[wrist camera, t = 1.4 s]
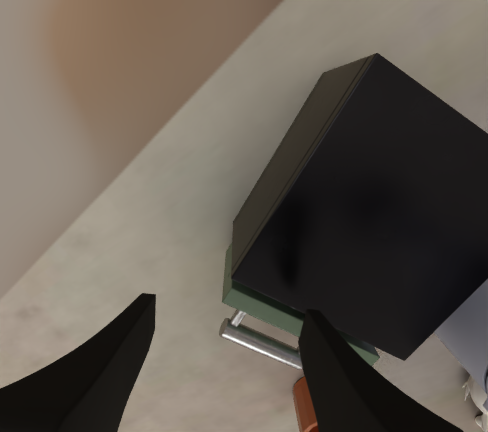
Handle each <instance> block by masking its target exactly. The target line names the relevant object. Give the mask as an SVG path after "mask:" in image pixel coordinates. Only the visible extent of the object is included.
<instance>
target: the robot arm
mask: <svg viewBox="0 0 488 432" xmlns="http://www.w3.org/2000/svg"><path fill="white" fill-rule="evenodd" d="M155 304H156V294H146V293H142V294H141V295H140V296H139V297H138V298H136V299H135V300H134V301H133V302H132V303H131V304H130V305H129V306H128V307H127V308H126V309H125V310H124V311H123V312H122V313H121V314H119V315H118V316H117V317H116V318H115V319H114V320H113V321H112V322H110V323H109V324H108V325H107V326H106V327H104V328H103V329H102V330H101V331H99V332H98V333H97V334H96V335H94V336H93V337H92V338H90V339H89V340H88V341H86V342H85V343H83V344H82V345H80V346H79V347H78V348H76V349H75V350H73V351H72V352H70V353H68V354H67V355H65V356H63V357H62V358H60V359H58V360H57V361H55V362H53V363H51V364H50V365H48V366H46V367H44V368H42V369H41V370H39V371H37V372H35V373H33V374H31V375H29V376H27V377H25V378H23V379H21V380H19V381H16V382H14V383H12V384H10V385H8V386H5V387H3V388H1V389H0V432H117V431H118V427H119V424H120V421H121V418H122V415H123V412H124V409H125V406H126V404H127V401H128V398H129V396H130V393H131V391H132V389H133V386H134V384H135V382H136V379H137V377H138V375H139V372H140V370H141V368H142V365H143V363H144V360H145V358H146V356H147V353H148V351H149V348H150V344H151V341H152V338H153V334H154V331H155ZM434 333H435V334H436V335H437V337H438V338H439V339H440V340H441V341H442V342H443V344H444V345H445V346H446V347H447V348H448V349H449V351H450V352H451V353H452V354H453V355H454V356H455V358H456V359H457V360H458V361H459V362H460V363H461V365H462V366H463V367H464V368H465V369H466V370H467V372H468V373H469V374H470V375H471V376H472V377H473V379H474V380H475V381H476V382H477V383H478V384H479V386H480V387H481V388H482V389H483V390H484V391H485V393H486V394H487V399H486V401H485V402H484V404H483V407H484V408H485V409H486V410H487V412H488V279H487V280H486V281H485V282H484V283H483V284H482V285H481V286H480V287H479V288H478V289H477V290H476V291H475V292H474V293H473V294H472V295H471V296H470V297H469V298H468V299H467V300H466V301H465V302H464V303H463V304H462V305H461V306H460V307H459V308H458V309H457V310H456V311H455V312H454V313H453V314H452V315H451V316H450V317H449V318H448V319H447V320H446V321H444V322H443V323H442V324H441V325H440V326H439V327H438V328H437V329H436V330H435V331H434ZM298 343H299V351H300V358H301V363H302V367H303V371H304V375H305V379H306V382H307V386H308V390H309V393H310V397H311V400H312V404H313V408H314V411H315V416H316V420H317V425H318V430H319V432H463V430H461V429H460V428H458V427H456V426H455V425H453V424H451V423H449V422H448V421H446V420H444V419H443V418H441V417H439V416H438V415H436V414H434V413H433V412H431V411H430V410H428V409H427V408H425V407H424V406H422V405H421V404H419V403H418V402H416V401H415V400H413V399H412V398H410V397H409V396H408V395H406V394H405V393H403V392H402V391H401V390H400V389H398V388H397V387H396V386H394V385H393V384H392V383H390V382H389V381H388V380H387V379H385V378H384V377H383V376H382V375H381V374H380V373H378V372H377V371H376V370H375V369H374V368H373V367H372V366H370V365H369V364H368V363H367V362H366V361H365V360H364V359H363V358H362V357H361V356H360V355H359V354H358V353H357V352H356V351H355V350H354V349H353V348H352V347H351V346H350V345H349V344H348V343H347V341H346V340H345V339H344V338H343V337H342V336H341V335H340V334H339V333H338V331H337V330H336V329H335V328H334V327H333V326H332V324H331V323H330V322H329V321H328V320H327V319H326V317H325V316H324V315H323V314H322V313H321V312H320V311H319V310H314V309H306V313H305V317H304V321H303V325H302V329H301V333H300V337H299V341H298Z"/></svg>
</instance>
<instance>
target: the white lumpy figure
mask: <svg viewBox="0 0 488 432" xmlns="http://www.w3.org/2000/svg"><path fill="white" fill-rule="evenodd" d="M466 384H467V386H466V392H465V399H466V396H468V393H469V392H470V394H471V397H472V399H473V401H474V403H475V404H476V406H477V407H478V408H479V409H480V410H481V411H482V412H483V414H482V416H477V417H476V418H475V421H476V423H477V424H478V425H479V426H480V427H482V429H483V431H484V432H488V412H487V410H486V409H485V408H484V407H483V404H484V402H485V401H486V399H487V394H486V393H485V391H484V390H483V389H482V388H481V387H480V386H479V384H478V383H477V382H476V381H475V380H474V379H473V377H472V376H471V375H470V377H469V380H468V381H467V382H466V383H465V384H464V385H463V387H464V386H465V385H466ZM463 387H462V388H463ZM469 399H470V396H469Z"/></svg>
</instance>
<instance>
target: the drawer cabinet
mask: <svg viewBox="0 0 488 432" xmlns="http://www.w3.org/2000/svg"><path fill="white" fill-rule="evenodd" d="M231 279H232V280H234V281H237V282H239V283H241V284H243V285H245V286H247V287H249V288H251V289H253V290H256V291H258V292H260V293H262V294H264V295H266V296H268V297H270V298H273V299H275V300H277V301H279V302H281V303H283V304H285V305H287V306H289V307H292V308H294V309H296V310H298V311H300V312H302V313H304V314H305V313H306V309H314V310H319V311H320V312H321V313H322V314H323V315H324V316H325V317H326V319H327V320H328V321H329V322H330V323H331V324H332V326H333V327H334V328H336V329H338V330H340V331H342V332H344V333H347V334H349V335H351V336H353V337H355V338H357V339H359V340H361V341H363V342H366V343H368V344H370V345H372V346H374V347H376V348H378V349H380V350H382V351H385V352H387V353H389V354H391V355H393V356H395V357H397V358H399V359H402V360H404V361H405V360H406V359H407V358H408V357H409V356H410V355H411V354H412V353H413V352H414V351H415V350H416V349H417V348H418V347H419V346H420V345H421V344H422V343H423V342H424V341H425V340H426V339H427V338H428V337H429V336H430V335H431V334H432V333H433V332H434V331H435V330H436V329H437V328H438V327H439V326H440V325H441V324H442V323H443V322H444V321H446V320H447V319H448V318H449V317H450V316H451V315H452V314H453V313H454V312H455V311H456V310H457V309H458V308H459V307H460V306H461V305H462V304H463V303H464V302H465V301H466V300H467V299H468V298H469V297H470V296H471V295H472V294H473V293H474V292H475V291H476V290H477V289H478V288H479V287H480V286H481V285H482V284H483V283H484V282H485V281H486V280H487V279H488V133H486V132H485V131H483V130H482V129H481V128H479V127H478V126H477V125H475V124H474V123H472V122H471V121H470V120H468V119H467V118H466V117H464V116H463V115H462V114H460V113H459V112H457V111H456V110H455V109H453V108H452V107H451V106H449V105H448V104H447V103H445V102H444V101H442V100H441V99H440V98H438V97H437V96H436V95H434V94H433V93H432V92H430V91H429V90H427V89H426V88H425V87H423V86H422V85H421V84H419V83H418V82H417V81H415V80H414V79H412V78H411V77H410V76H408V75H407V74H406V73H404V72H403V71H402V70H400V69H399V68H397V67H396V66H395V65H393V64H392V63H391V62H389V61H388V60H386V59H385V58H384V57H382V56H381V55H380V54H378V53H375V54H373V55H370V56H368V57H365V58H362V59H359V60H357V61H354V62H351V63H349V64H346V65H343V66H340V67H338V68H335V69H332V70H329V71H327V72H324V73H323V74H322V75H321V77H320V79H319V80H318V82H317V84H316V85H315V87H314V89H313V90H312V92H311V93H310V95H309V97H308V98H307V100H306V102H305V103H304V105H303V107H302V108H301V110H300V112H299V113H298V115H297V117H296V118H295V120H294V122H293V123H292V125H291V127H290V128H289V130H288V132H287V133H286V135H285V137H284V138H283V140H282V142H281V143H280V145H279V147H278V148H277V150H276V152H275V153H274V155H273V157H272V158H271V160H270V162H269V163H268V165H267V166H266V168H265V170H264V171H263V173H262V175H261V176H260V178H259V180H258V181H257V183H256V185H255V186H254V188H253V190H252V191H251V193H250V195H249V196H248V198H247V200H246V201H245V203H244V205H243V206H242V208H241V210H240V211H239V213H238V215H237V216H236V218H235V220H234V221H233V238H232V263H231Z"/></svg>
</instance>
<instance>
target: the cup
mask: <svg viewBox="0 0 488 432" xmlns="http://www.w3.org/2000/svg"><path fill="white" fill-rule="evenodd" d="M293 397H294V398H293V400H294V405H295V410H296V415H297V421H298V426H299V431H300V432H319V430H318V425H317V420H316V416H315V411H314V408H313V404H312V400H311V397H310V393H309V390H308V386H307V382H306V379H305V377H303V378H301V379H300V380H298V381H297V383H296V384H295V386H294V388H293Z"/></svg>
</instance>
